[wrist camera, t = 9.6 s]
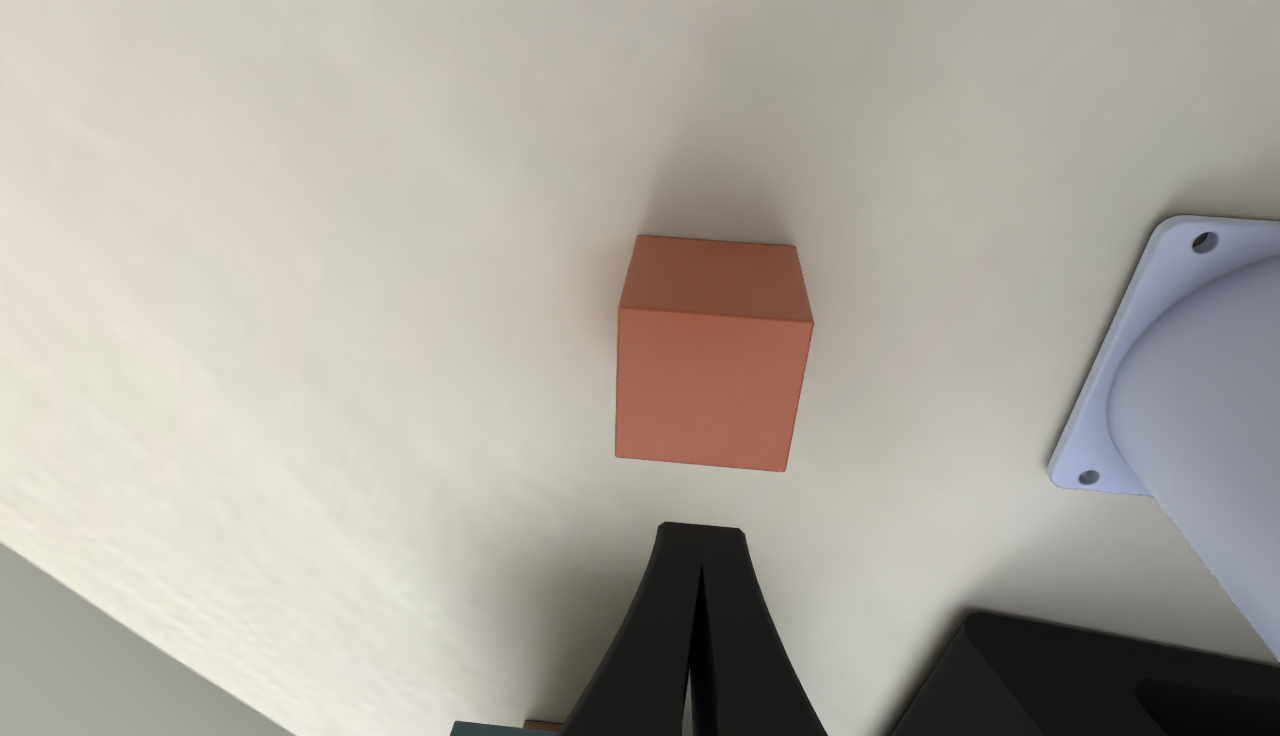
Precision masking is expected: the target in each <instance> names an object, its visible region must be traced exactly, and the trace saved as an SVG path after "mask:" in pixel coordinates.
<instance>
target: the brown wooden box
mask: <svg viewBox="0 0 1280 736" xmlns="http://www.w3.org/2000/svg"><path fill="white" fill-rule="evenodd" d="M561 727H562V724H553V723H544V722H535V721H527V720H526V721H525V722H524V726H523V728H524V729H532V730H541V731H550V732H558V731H559V730H560V728H561Z"/></svg>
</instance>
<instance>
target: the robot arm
mask: <svg viewBox="0 0 1280 736" xmlns="http://www.w3.org/2000/svg"><path fill="white" fill-rule="evenodd" d="M1206 232H1209V233H1208V237H1207V239H1206V240H1205V241H1204V242H1203V243H1202V244H1200V245H1198V246H1196V247H1192V246H1193V242H1194V240H1195V239H1196V238H1197V237H1198V236H1200V235H1201V234H1203V233H1206ZM1091 470H1092V471H1091ZM1086 471H1091V472H1090V473H1088V474H1086V475H1081V474H1082V473H1084V472H1086ZM1046 472H1047V474H1048V477H1049V478H1050V480H1051V482H1052V483H1053V484H1054V485H1055V486H1057V487H1060V488H1065V489H1076V490H1087V491H1099V492H1110V493H1121V494H1132V495H1143V496H1153V497H1154V499H1155V500H1156V501H1157V503H1158V504H1159V505H1160V507H1161V508H1162V509H1163V510H1164V512H1165V513H1166V514H1167V516H1168V517H1169V518H1170V520H1171V521H1172V522H1173V524H1174V525H1175V526H1176V528H1177V529H1178V530H1179V532H1180V533H1181V534H1182V535H1183V537H1184V538H1185V539H1186V541H1187V542H1188V543H1189V545H1190V546H1191V547H1192V549H1193V550H1194V551H1195V553H1196V554H1197V555H1198V557H1199V558H1200V559H1201V560H1202V562H1203V563H1204V564H1205V566H1206V567H1207V568H1208V570H1209V571H1210V572H1211V574H1212V575H1213V576H1214V578H1215V579H1216V580H1217V582H1218V583H1219V584H1220V585H1221V587H1222V588H1223V589H1224V591H1225V592H1226V593H1227V595H1228V596H1229V597H1230V599H1231V600H1232V601H1233V603H1234V604H1235V605H1236V607H1237V608H1238V609H1239V610H1240V612H1241V613H1242V614H1243V616H1244V617H1245V618H1246V620H1247V621H1248V622H1249V624H1250V625H1251V626H1252V628H1253V629H1254V630H1255V632H1256V633H1257V634H1258V635H1259V637H1260V638H1261V639H1262V641H1263V642H1264V643H1265V645H1266V646H1267V647H1268V649H1269V650H1270V651H1271V653H1272V654H1273V655H1274V657H1275V658H1276V659H1277V660H1278V662H1279V663H1280V221H1267V220H1252V219H1237V218H1222V217H1207V216H1192V215H1179V216H1173V217H1171V218H1169V219H1166V220H1164V221H1163V222H1162V223H1161V224H1159V225H1158V226H1157V227H1156V229H1155V230H1154V232H1153V233H1152V235H1151V237H1150V239H1149V242H1148V244H1147V246H1146V248H1145V250H1144V253H1143V255H1142V257H1141V259H1140V262H1139V264H1138V266H1137V268H1136V270H1135V273H1134V275H1133V277H1132V279H1131V282H1130V284H1129V286H1128V288H1127V290H1126V293H1125V295H1124V297H1123V299H1122V302H1121V304H1120V306H1119V308H1118V310H1117V313H1116V315H1115V317H1114V319H1113V322H1112V324H1111V326H1110V328H1109V330H1108V333H1107V335H1106V337H1105V339H1104V342H1103V344H1102V346H1101V348H1100V350H1099V353H1098V355H1097V357H1096V359H1095V362H1094V364H1093V366H1092V368H1091V371H1090V373H1089V375H1088V377H1087V379H1086V382H1085V384H1084V386H1083V388H1082V391H1081V393H1080V395H1079V397H1078V399H1077V402H1076V404H1075V406H1074V408H1073V411H1072V413H1071V415H1070V417H1069V419H1068V422H1067V424H1066V426H1065V428H1064V431H1063V433H1062V435H1061V437H1060V439H1059V442H1058V444H1057V446H1056V448H1055V451H1054V453H1053V455H1052V457H1051V459H1050V462H1049V464H1048V466H1047V471H1046ZM1080 475H1081V476H1080ZM689 670H690V683H691V707H692V729H693V736H828V735H827V733H826V731H825V730H824V728H823V726H822V724H821V722H820V720H819V718H818V717H817V715H816V713H815V711H814V709H813V707H812V705H811V703H810V701H809V699H808V697H807V695H806V693H805V691H804V689H803V687H802V685H801V683H800V681H799V679H798V677H797V675H796V673H795V671H794V669H793V667H792V664H791V662H790V660H789V658H788V656H787V654H786V651H785V649H784V647H783V644H782V642H781V640H780V637H779V635H778V633H777V630H776V628H775V625H774V623H773V621H772V618H771V616H770V613H769V611H768V608H767V606H766V603H765V601H764V598H763V595H762V592H761V589H760V586H759V584H758V581H757V578H756V575H755V572H754V568H753V565H752V562H751V558H750V555H749V551H748V547H747V543H746V538H745V534H744V533H743V532H742V531H741V530H740V529H739V528H730V527H720V526H709V525H698V524H687V523H676V522H664V523H662V524H661V525H659V526H658V530H657V536H656V540H655V544H654V547H653V551H652V554H651V557H650V560H649V563H648V565H647V568H646V571H645V573H644V576H643V578H642V581H641V583H640V586H639V588H638V590H637V592H636V595H635V597H634V599H633V601H632V603H631V605H630V607H629V610H628V612H627V614H626V616H625V618H624V620H623V623H622V625H621V626H620V628H619V630H618V632H617V634H616V636H615V638H614V640H613V642H612V643H611V645H610V647H609V649H608V651H607V652H606V654H605V656H604V658H603V660H602V662H601V663H600V665H599V667H598V669H597V671H596V672H595V674H594V676H593V678H592V679H591V681H590V683H589V684H588V686H587V688H586V689H585V691H584V692H583V694H582V696H581V697H580V699H579V700H578V702H577V704H576V705H575V707H574V708H573V710H572V711H571V713H570V714H569V716H568V717H567V719H566V721H565V722H564V724H563V725H562V727H561V728H560V730H559V731H558V732H557V734H556V735H555V736H682V721H683V714H684V706H685V699H686V692H687V685H688V677H689Z"/></svg>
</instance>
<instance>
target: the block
mask: <svg viewBox="0 0 1280 736" xmlns="http://www.w3.org/2000/svg"><path fill="white" fill-rule="evenodd" d="M813 325H814V321H813V317H812V313H811V309H810V305H809V300H808V296H807V292H806V288H805V284H804V279H803V275H802V271H801V267H800V263H799V259H798V254H797V250H796V247H793V246H778V245H764V244H750V243H736V242H722V241H708V240H694V239H680V238H666V237H651V236H637V238H636V242H635V246H634V249H633V253H632V257H631V261H630V265H629V268H628V272H627V276H626V280H625V284H624V287H623V291H622V295H621V299H620V303H619V306H618V333H617V376H616V420H615V456H616V457H620V458H631V459H642V460H653V461H664V462H675V463H686V464H698V465H709V466H720V467H731V468H742V469H753V470H764V471H775V472H785V470H786V466H787V460H788V455H789V450H790V445H791V440H792V435H793V429H794V424H795V419H796V414H797V409H798V403H799V398H800V393H801V388H802V383H803V377H804V372H805V367H806V362H807V357H808V351H809V346H810V341H811V336H812V331H813Z"/></svg>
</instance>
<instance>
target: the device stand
mask: <svg viewBox="0 0 1280 736" xmlns="http://www.w3.org/2000/svg"><path fill="white" fill-rule="evenodd" d="M891 736H1280V669H1278V668H1273V667H1268V666H1262V665H1257V664H1252V663H1246V662H1241V661H1236V660H1230V659H1225V658H1220V657H1214V656H1209V655H1204V654H1198V653H1193V652H1188V651H1182V650H1177V649H1172V648H1166V647H1161V646H1156V645H1150V644H1145V643H1140V642H1134V641H1129V640H1124V639H1118V638H1113V637H1108V636H1102V635H1097V634H1092V633H1086V632H1081V631H1076V630H1070V629H1065V628H1060V627H1054V626H1049V625H1044V624H1038V623H1033V622H1028V621H1022V620H1017V619H1012V618H1006V617H1001V616H996V615H990V614H985V613H974V614H971V615H969V616H968V617H967V618H966V620H965V621H964V623H963V624H962V626H961V627H960V629H959V631H958V632H957V634H956V635H955V637H954V638H953V640H952V641H951V643H950V645H949V646H948V648H947V649H946V651H945V652H944V654H943V655H942V657H941V659H940V660H939V662H938V663H937V665H936V666H935V668H934V669H933V671H932V673H931V674H930V676H929V677H928V679H927V680H926V682H925V683H924V685H923V687H922V688H921V690H920V691H919V693H918V694H917V696H916V697H915V699H914V701H913V702H912V704H911V705H910V707H909V708H908V710H907V711H906V713H905V715H904V716H903V718H902V719H901V721H900V722H899V724H898V725H897V727H896V729H895V730H894V732H893V733H892V735H891Z"/></svg>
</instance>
